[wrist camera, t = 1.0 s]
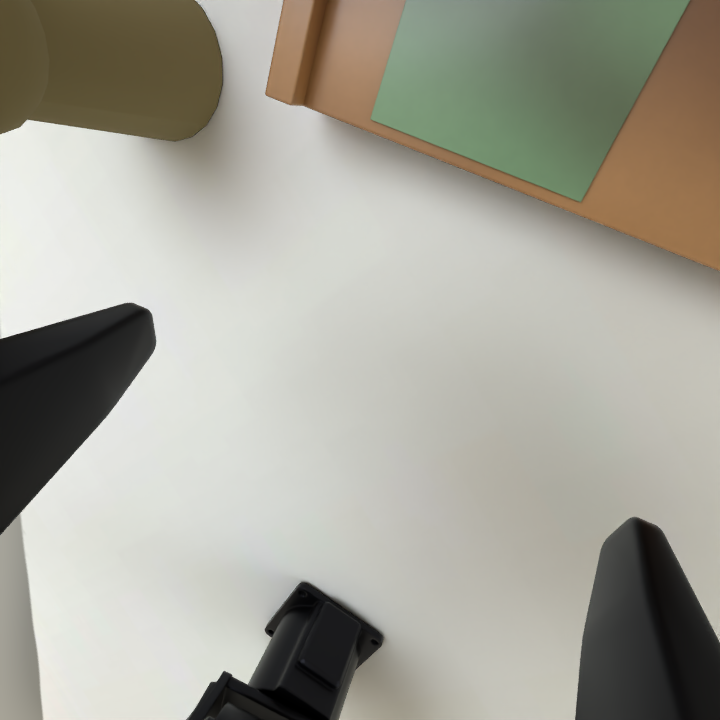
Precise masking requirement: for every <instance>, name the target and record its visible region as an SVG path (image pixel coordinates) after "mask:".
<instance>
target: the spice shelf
mask: <svg viewBox="0 0 720 720" xmlns="http://www.w3.org/2000/svg"><path fill="white" fill-rule="evenodd" d="M265 94H266V95H267V96H268V97H271V98H273V99H276V100H278V101H281V102H283V103H286V104H289V105H297V106H305V107H307V108H310V109H312V110H315V111H317V112H320V113H322V114H325V115H328V116H330V117H333V118H335V119H338V120H340V121H343V122H345V123H348V124H350V125H353V126H355V127H358V128H360V129H363V130H365V131H368V132H370V133H373V134H375V135H378V136H380V137H383V138H385V139H388V140H390V141H393V142H395V143H398V144H400V145H403V146H406V147H408V148H411V149H413V150H416V151H418V152H421V153H423V154H426V155H428V156H431V157H433V158H436V159H438V160H441V161H443V162H446V163H448V164H451V165H453V166H456V167H458V168H461V169H463V170H466V171H468V172H471V173H473V174H476V175H478V176H481V177H484V178H486V179H489V180H491V181H494V182H496V183H499V184H501V185H504V186H506V187H509V188H511V189H514V190H516V191H519V192H521V193H524V194H526V195H529V196H531V197H534V198H536V199H539V200H541V201H544V202H546V203H549V204H551V205H554V206H556V207H559V208H561V209H564V210H567V211H569V212H572V213H574V214H577V215H579V216H582V217H584V218H587V219H589V220H592V221H594V222H597V223H599V224H602V225H604V226H607V227H609V228H612V229H614V230H617V231H619V232H622V233H624V234H627V235H629V236H632V237H634V238H637V239H639V240H642V241H645V242H647V243H650V244H652V245H655V246H657V247H660V248H662V249H665V250H667V251H670V252H672V253H675V254H677V255H680V256H682V257H685V258H687V259H690V260H692V261H695V262H697V263H700V264H702V265H705V266H707V267H710V268H712V269H715V270H717V271H720V0H284V1H283V6H282V11H281V16H280V21H279V26H278V32H277V37H276V42H275V47H274V52H273V57H272V62H271V67H270V72H269V77H268V82H267V87H266V92H265Z"/></svg>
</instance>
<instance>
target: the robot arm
mask: <svg viewBox="0 0 720 720" xmlns="http://www.w3.org/2000/svg"><path fill="white" fill-rule="evenodd" d="M155 346H156V336H155V330H154V323H153V317H152V314H151V312H150V311H149V310H148V309H146V308H144V307H141V306H139V305H136V304H134V303H124V304H121V305H117V306H114V307H110V308H107V309H103V310H100V311H96V312H93V313H89V314H86V315H83V316H79V317H76V318H72V319H69V320H65V321H62V322H58V323H55V324H51V325H48V326H44V327H41V328H37V329H34V330H30V331H27V332H23V333H20V334H16V335H13V336H9V337H6V338H3V339H0V535H1V534H2V532H4V530H5V529H6V528H7V527H8V526H9V525H10V524H11V523H12V522H13V520H14V519H15V518H16V517H17V516H18V515H19V514H20V513H21V512H22V510H23V509H24V508H25V507H26V506H27V505H28V504H29V503H30V501H31V500H32V499H33V498H34V497H35V496H36V495H37V494H38V493H39V491H40V490H41V489H42V488H43V487H44V486H45V485H46V484H47V483H48V481H49V480H50V479H51V478H52V477H53V476H54V475H55V474H56V473H57V471H58V470H59V469H60V468H61V467H62V466H63V465H64V464H65V463H66V461H67V460H68V459H69V458H70V457H71V456H72V455H73V454H74V452H75V451H76V450H77V449H78V448H79V447H80V446H81V445H82V444H83V442H84V441H85V440H86V439H87V438H88V437H89V436H90V435H91V434H92V432H93V431H94V430H95V429H96V428H97V427H98V426H99V425H100V423H101V422H102V421H103V420H104V419H105V418H106V416H107V415H108V414H109V413H110V412H111V410H112V409H113V408H114V406H115V405H116V404H117V402H118V401H119V400H120V398H121V397H122V395H123V394H124V393H125V391H126V390H127V388H128V387H129V386H130V384H131V383H132V381H133V380H134V379H135V377H136V376H137V374H138V373H139V372H140V370H141V369H142V368H143V366H144V365H145V363H146V362H147V361H148V359H149V358H150V356H151V355H152V353H153V352H154V349H155ZM265 632H266V633H267V634H268V635H269V636H270V637H272V639H271V641H270V643H269V645H268V646H267V648H266V650H265V652H264V654H263V656H262V658H261V660H260V662H259V664H258V666H257V668H256V670H255V672H254V674H253V676H252V678H251V679H250V681H249V683H248V685H247V684H245V683H243V682H241V681H239V680H238V679H236V678H234V677H232V674H230V673H228V672H226V671H224V672H223V673H222V675H221V676H220V678H219V679H218V681H217V682H211V683H210V684H209V686H208V688H207V689H206V691H205V693H204V695H203V696H202V698H201V700H200V701H199V703H198V705H197V706H196V708H195V709H194V711H193V712H192V713H191V715H190V716H189V717H188V718H187V719H186V720H339V717H340V714H341V711H342V708H343V705H344V702H345V699H346V696H347V693H348V690H349V687H350V684H351V681H352V678H353V675H354V672H355V670H356V669H357V668H358V667H359V666H360V665H361V664H362V663H363V662H365V661H366V660H367V659H368V658H369V657H370V656H371V655H372V654H373V653H374V652H375V651H377V650H378V649H379V648H380V647H381V645H382V643H383V636H382V635H381V634H380V633H379V632H377V631H376V630H374V629H373V628H371V627H370V626H368V625H367V624H366V623H364V622H363V621H361V620H360V619H358V618H357V617H355V616H354V615H352V614H351V613H349V612H348V611H346V610H345V609H343V608H342V607H340V606H339V605H337V604H336V603H335V602H333V601H332V600H330V599H329V598H327V597H326V596H324V595H323V594H321V593H320V592H318V591H317V590H315V589H314V588H312V587H311V586H309V585H308V584H306V583H300V584H299V585H298V586H297V587H296V588H295V590H294V591H293V592H292V593H291V595H290V596H289V597H288V599H287V600H286V601H285V602H284V604H283V605H282V606H281V607H280V609H279V610H278V611H277V612H276V614H275V615H274V616H273V617H272V619H271V620H270V621H269V623H268V624H267V626H266V628H265ZM575 720H720V642H719V640H718V638H717V636H716V634H715V632H714V630H713V628H712V626H711V625H710V623H709V621H708V619H707V617H706V615H705V613H704V611H703V609H702V607H701V605H700V603H699V601H698V599H697V597H696V595H695V593H694V591H693V589H692V587H691V585H690V584H689V582H688V580H687V578H686V576H685V574H684V572H683V570H682V568H681V566H680V564H679V562H678V560H677V558H676V556H675V554H674V552H673V550H672V548H671V546H670V544H669V543H668V541H667V539H666V537H665V535H664V533H663V531H662V530H661V529H660V528H659V527H658V526H656V525H654V524H652V523H649V522H647V521H645V520H642V519H640V518H637V517H632V518H629V519H628V520H627V521H626V522H624V523H623V524H622V525H621V526H620V527H619V528H618V529H617V530H616V531H614V532H613V533H612V534H611V535H610V536H609V537H608V538H607V539H606V540H605V542H604V544H603V546H602V548H601V552H600V556H599V561H598V566H597V571H596V575H595V580H594V585H593V589H592V594H591V599H590V604H589V608H588V613H587V618H586V622H585V628H584V633H583V640H582V648H581V658H580V670H579V682H578V693H577V705H576V716H575Z"/></svg>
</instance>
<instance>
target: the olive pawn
mask: <svg viewBox="0 0 720 720" xmlns="http://www.w3.org/2000/svg"><path fill="white" fill-rule="evenodd" d="M221 88H222V57H221V53H220V49H219V46H218V42H217V38H216V35H215V31H214V29H213V27H212V26H211V24H210V22H209V20H208V18H207V16H206V15H205V13H204V11H203V9H202V7H201V6H200V5H199V4H198V3H197V2H196V1H195V0H0V134H2V133H5V132H8V131H11V130H13V129H16V128H19V127H21V125H22V124H23V123H24V122H25V121H26V120H34V121H40V122H47V123H54V124H60V125H67V126H74V127H80V128H87V129H94V130H101V131H107V132H114V133H121V134H127V135H134V136H141V137H147V138H154V139H161V140H168V141H179V140H182V139H186V138H190V137H192V136H194V135H195V134H196V133H197V132H199V131H200V130H201V129H202V128H204V127H205V126H206V125H207V123H208V122H209V120H210V118H211V116H212V115H213V113H214V111H215V110H216V108H217V105H218V101H219V96H220V92H221Z"/></svg>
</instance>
